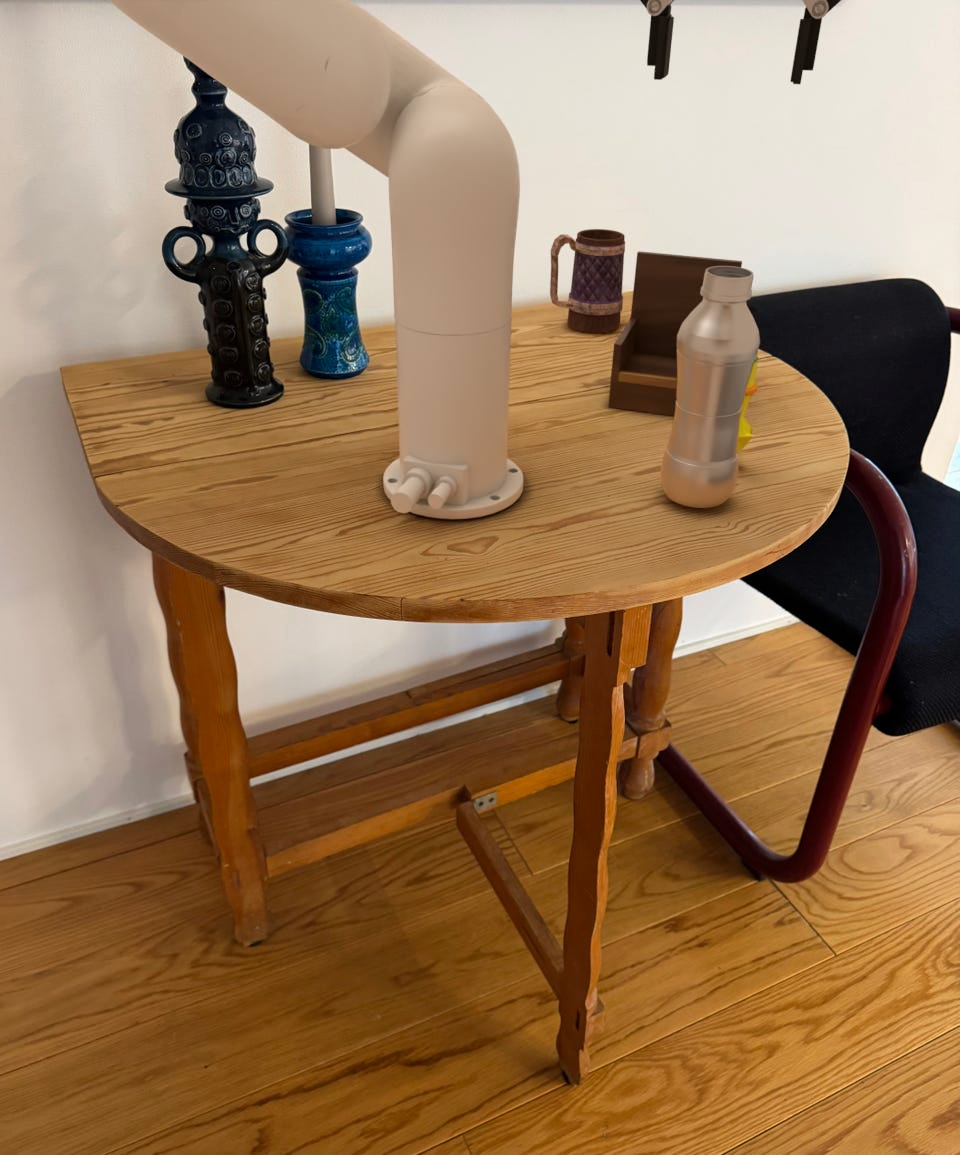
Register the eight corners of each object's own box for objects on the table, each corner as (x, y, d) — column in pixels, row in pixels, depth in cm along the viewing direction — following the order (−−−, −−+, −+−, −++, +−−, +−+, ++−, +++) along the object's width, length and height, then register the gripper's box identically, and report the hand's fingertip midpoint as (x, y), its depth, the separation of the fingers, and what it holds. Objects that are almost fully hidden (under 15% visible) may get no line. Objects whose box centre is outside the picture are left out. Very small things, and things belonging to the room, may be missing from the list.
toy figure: (683, 454, 92) (701, 333, 86) (712, 447, 94) (731, 327, 87) (731, 482, 87) (754, 357, 81) (760, 474, 89) (784, 350, 82)
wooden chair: (711, 421, 99) (733, 286, 91) (608, 407, 102) (620, 275, 94) (721, 387, 107) (742, 260, 99) (625, 375, 110) (638, 251, 102)
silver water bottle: (740, 518, 82) (783, 284, 71) (661, 516, 82) (693, 282, 71) (725, 483, 87) (763, 261, 76) (651, 481, 87) (679, 260, 76)
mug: (606, 315, 128) (614, 223, 122) (629, 332, 122) (639, 236, 116) (536, 322, 125) (540, 228, 119) (556, 339, 120) (562, 241, 113)
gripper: (621, -229, 59) (601, 81, 68) (918, -241, 55) (853, 90, 64) (638, -211, 65) (617, 71, 74) (907, -221, 61) (849, 78, 70)
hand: (727, 79), depth 69 cm, fingers open, 9 cm apart
